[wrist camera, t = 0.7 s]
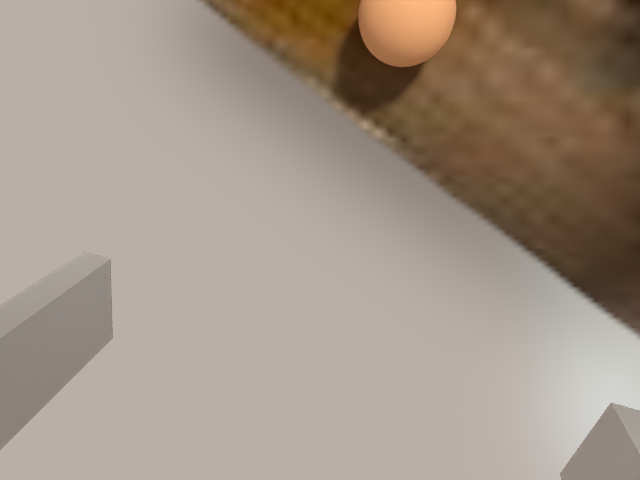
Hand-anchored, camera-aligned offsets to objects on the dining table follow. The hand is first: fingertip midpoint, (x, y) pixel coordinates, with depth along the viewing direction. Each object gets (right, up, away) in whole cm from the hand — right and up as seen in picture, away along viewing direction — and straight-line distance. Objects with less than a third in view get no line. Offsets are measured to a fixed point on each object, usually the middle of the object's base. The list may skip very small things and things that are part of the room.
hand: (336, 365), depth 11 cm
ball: (+5, +16, +13) cm, 22 cm away
